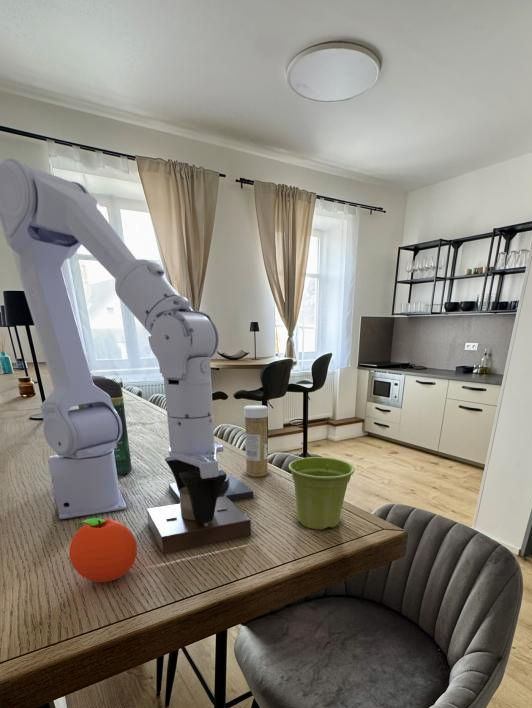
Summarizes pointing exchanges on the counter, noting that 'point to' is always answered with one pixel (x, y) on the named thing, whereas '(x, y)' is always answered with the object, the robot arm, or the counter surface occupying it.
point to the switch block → (224, 490)
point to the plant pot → (320, 489)
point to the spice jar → (256, 440)
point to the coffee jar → (118, 403)
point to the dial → (186, 505)
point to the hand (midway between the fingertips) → (197, 512)
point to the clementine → (102, 550)
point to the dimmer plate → (197, 526)
